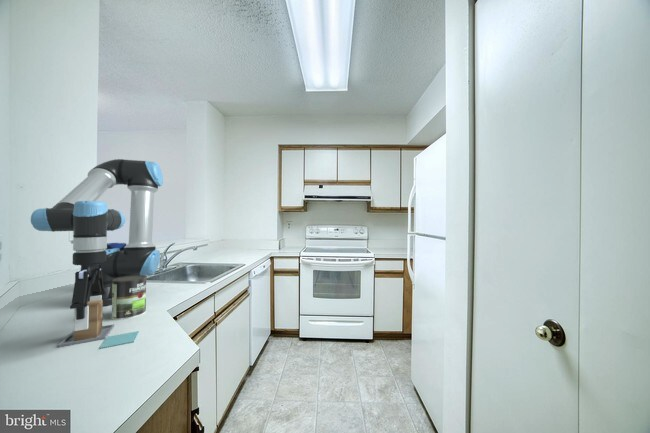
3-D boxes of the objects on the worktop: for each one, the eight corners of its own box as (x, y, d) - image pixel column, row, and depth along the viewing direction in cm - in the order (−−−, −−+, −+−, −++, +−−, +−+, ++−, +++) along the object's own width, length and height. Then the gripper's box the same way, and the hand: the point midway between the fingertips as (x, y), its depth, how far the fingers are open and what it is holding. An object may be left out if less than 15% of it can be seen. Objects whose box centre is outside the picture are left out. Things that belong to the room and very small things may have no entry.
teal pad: (107, 338, 73) (107, 336, 73) (138, 332, 77) (138, 331, 77) (99, 350, 66) (99, 347, 67) (133, 343, 70) (133, 341, 70)
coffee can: (152, 311, 96) (153, 275, 96) (126, 321, 85) (127, 281, 86) (131, 309, 98) (132, 274, 98) (103, 319, 87) (104, 280, 88)
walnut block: (80, 334, 75) (81, 302, 75) (102, 330, 78) (102, 299, 78) (74, 341, 71) (74, 307, 71) (96, 337, 73) (97, 304, 73)
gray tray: (73, 334, 76) (73, 330, 76) (114, 327, 81) (114, 324, 81) (57, 348, 67) (57, 344, 67) (104, 340, 72) (104, 336, 72)
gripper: (88, 247, 83) (86, 312, 83) (54, 256, 63) (52, 341, 62) (116, 246, 87) (115, 308, 86) (92, 254, 66) (91, 335, 66)
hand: (88, 322), depth 74 cm, fingers open, 11 cm apart
